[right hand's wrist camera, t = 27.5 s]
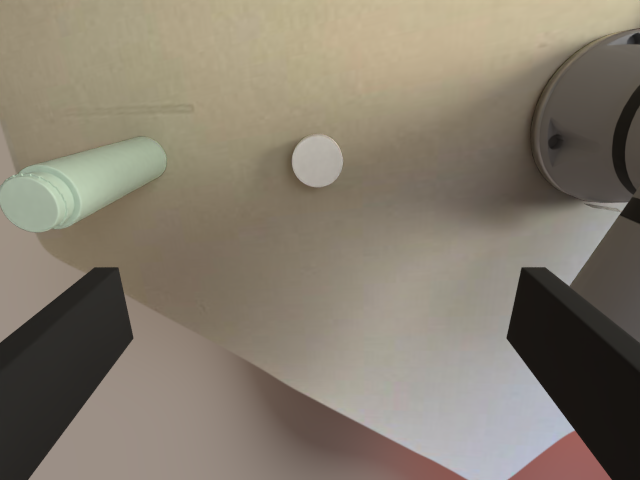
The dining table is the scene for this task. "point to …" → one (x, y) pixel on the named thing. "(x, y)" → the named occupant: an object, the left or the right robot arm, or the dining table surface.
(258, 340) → the dining table surface
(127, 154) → the pale green cylinder
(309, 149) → the lid
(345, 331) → the dining table surface
